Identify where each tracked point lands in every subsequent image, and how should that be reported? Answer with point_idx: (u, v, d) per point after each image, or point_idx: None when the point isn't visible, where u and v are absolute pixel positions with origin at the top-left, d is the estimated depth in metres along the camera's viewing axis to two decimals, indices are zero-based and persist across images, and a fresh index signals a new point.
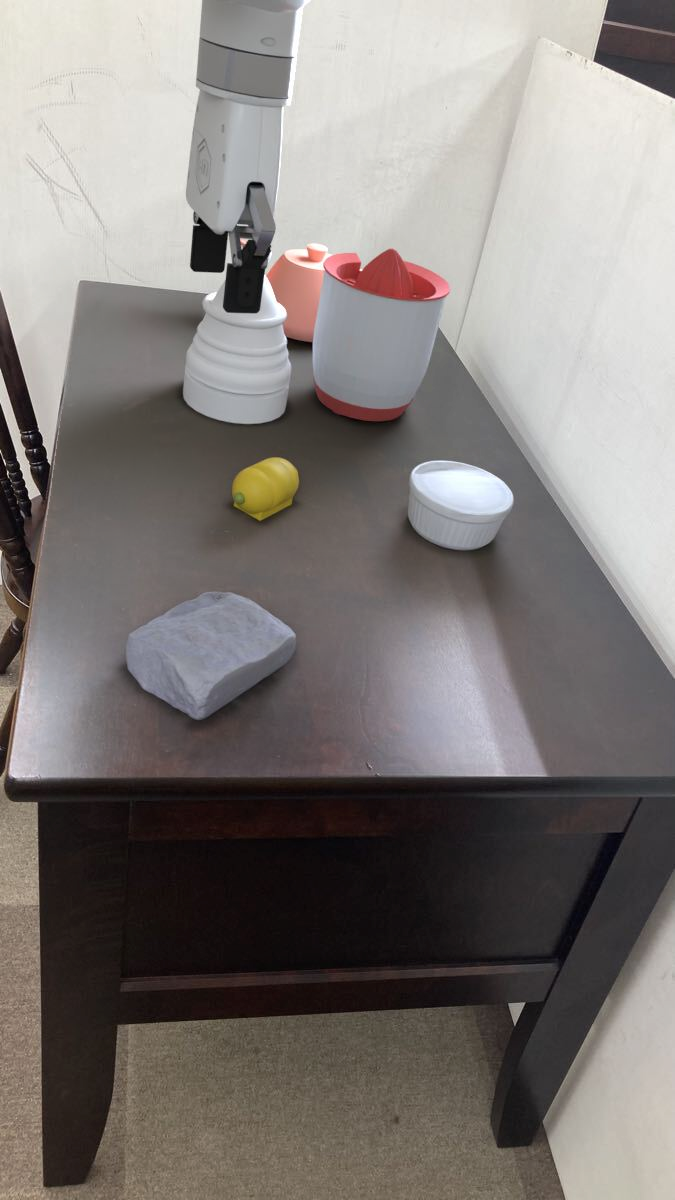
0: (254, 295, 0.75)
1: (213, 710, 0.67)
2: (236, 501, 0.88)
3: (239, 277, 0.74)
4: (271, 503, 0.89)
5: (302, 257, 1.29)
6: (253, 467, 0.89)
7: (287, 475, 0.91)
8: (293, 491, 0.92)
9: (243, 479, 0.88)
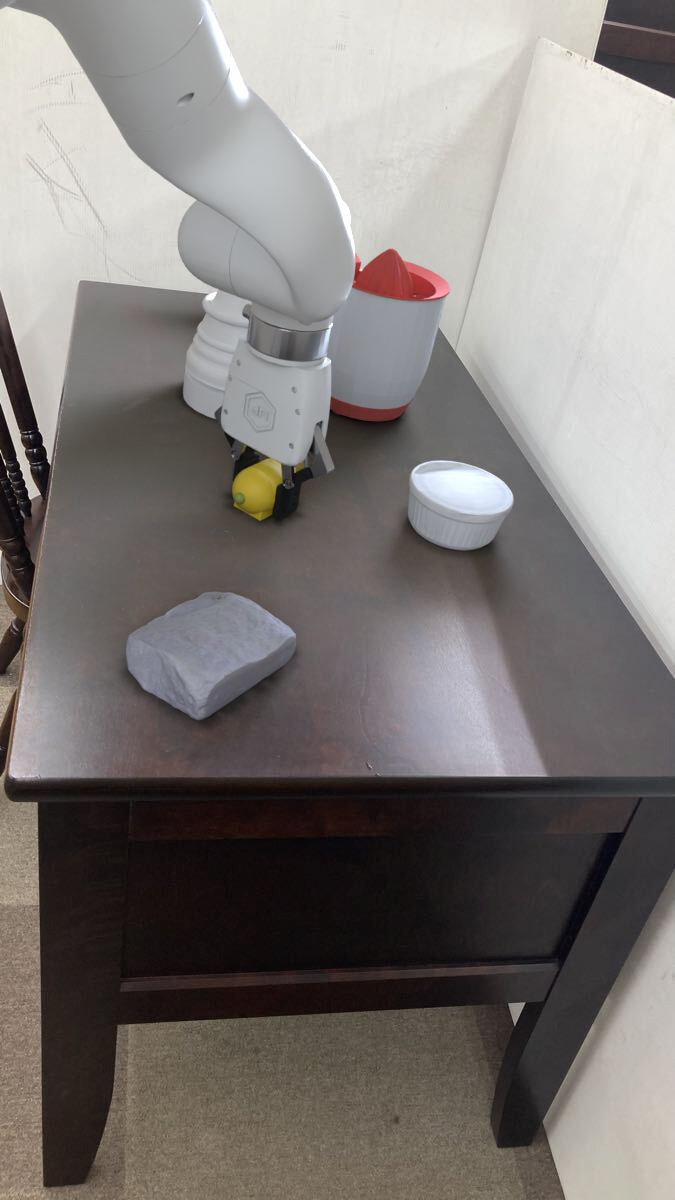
0: (297, 502, 0.91)
1: (213, 710, 0.67)
2: (236, 501, 0.88)
3: (289, 494, 0.89)
4: (271, 503, 0.89)
5: None
6: (253, 467, 0.89)
7: None
8: None
9: (243, 479, 0.88)
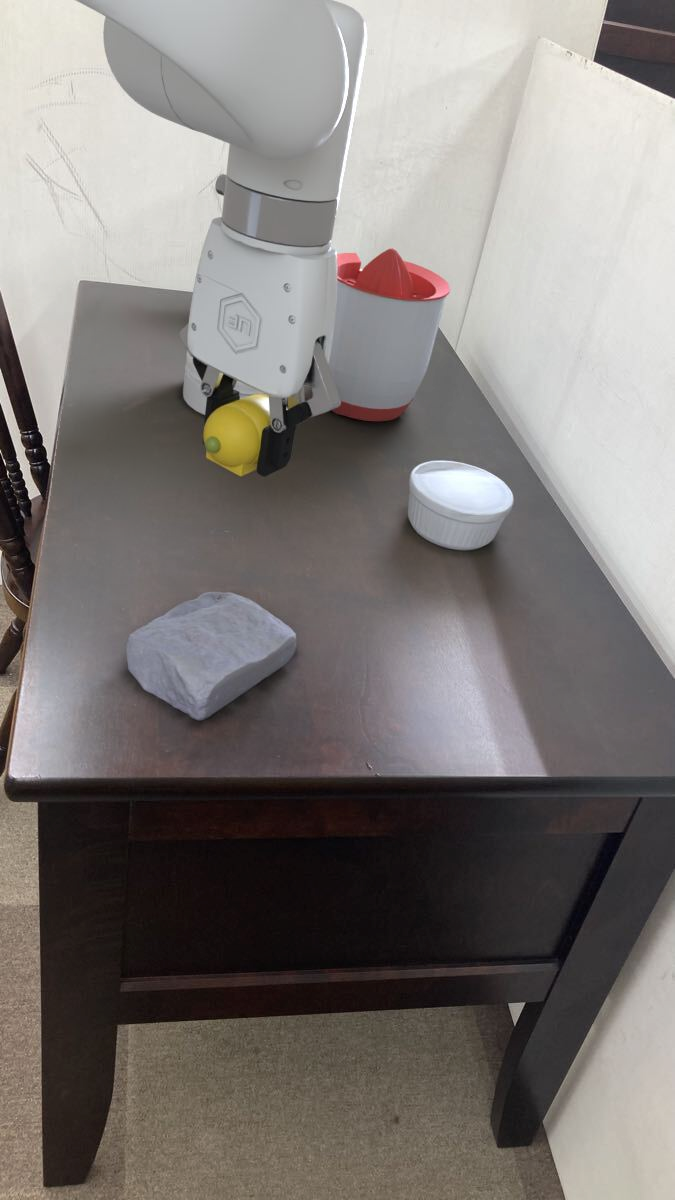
0: (290, 452, 0.68)
1: (214, 710, 0.67)
2: (208, 448, 0.66)
3: (280, 440, 0.66)
4: (256, 452, 0.67)
5: None
6: (231, 404, 0.67)
7: None
8: None
9: (218, 419, 0.66)
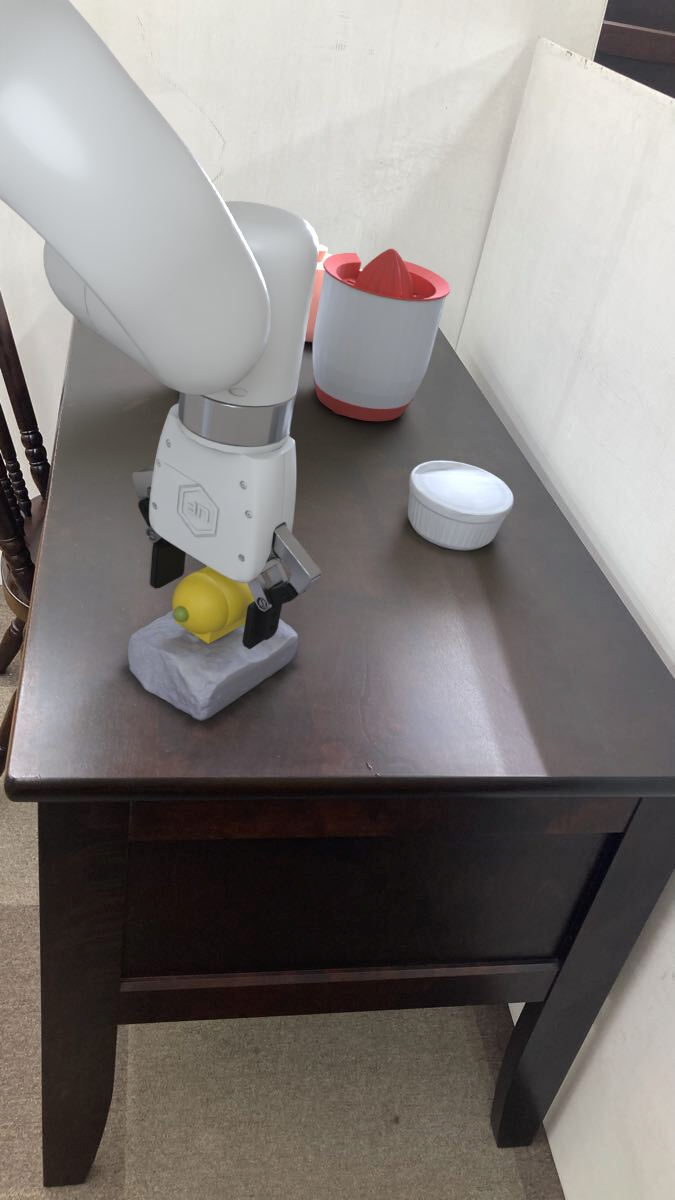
0: (277, 623, 0.66)
1: (216, 710, 0.67)
2: (176, 618, 0.65)
3: (265, 616, 0.64)
4: (224, 621, 0.67)
5: None
6: (202, 572, 0.67)
7: None
8: None
9: (187, 589, 0.66)
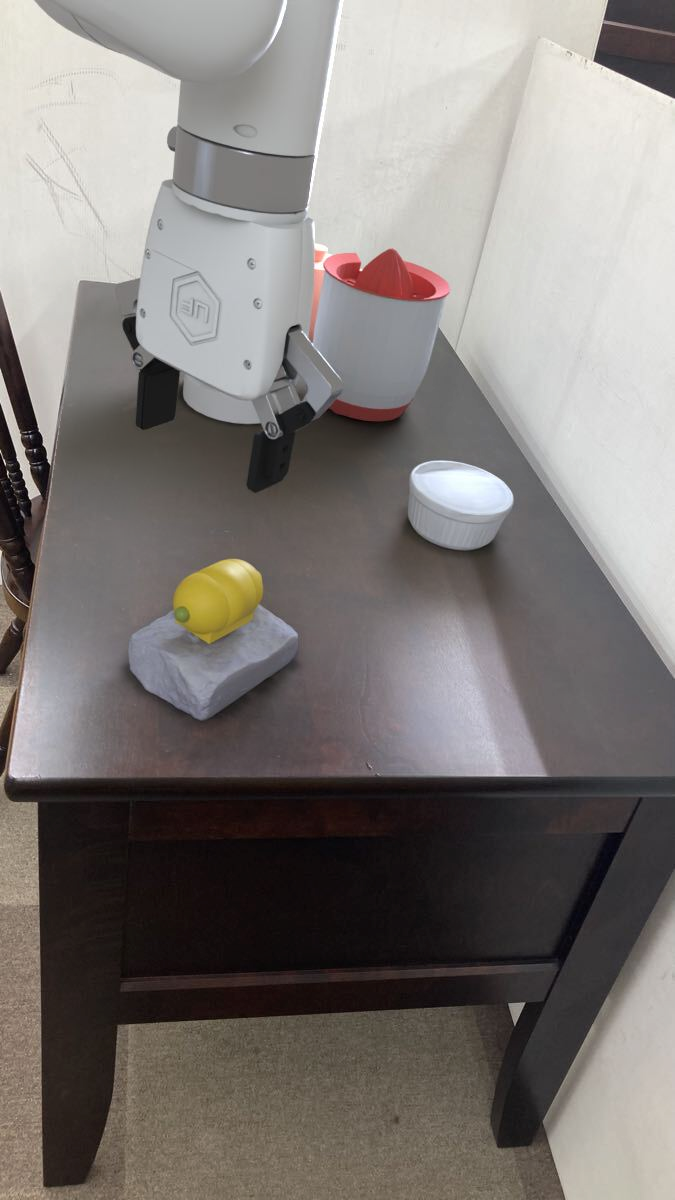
0: (288, 463, 0.56)
1: (216, 710, 0.67)
2: (177, 618, 0.65)
3: (275, 448, 0.54)
4: (225, 621, 0.67)
5: None
6: (202, 573, 0.67)
7: (247, 583, 0.68)
8: (255, 604, 0.69)
9: (188, 589, 0.66)
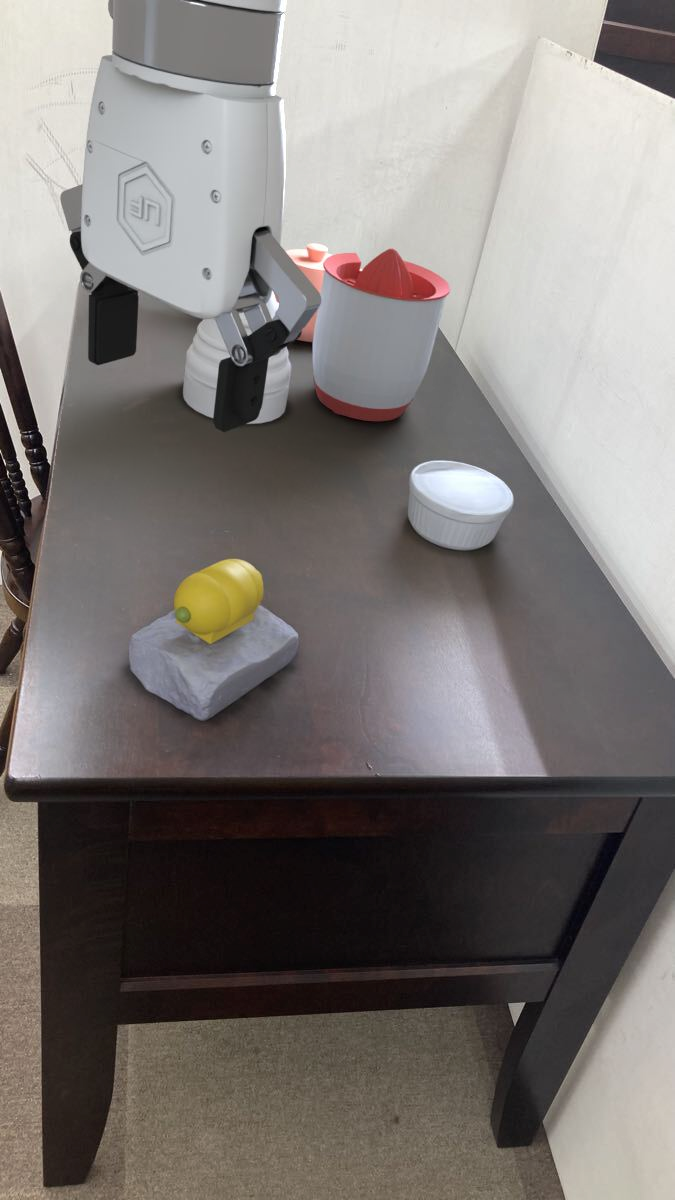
0: (262, 397, 0.48)
1: (217, 711, 0.67)
2: (178, 619, 0.65)
3: (244, 378, 0.46)
4: (226, 621, 0.67)
5: (302, 257, 1.29)
6: (203, 573, 0.67)
7: (248, 583, 0.68)
8: (256, 604, 0.69)
9: (189, 589, 0.66)
